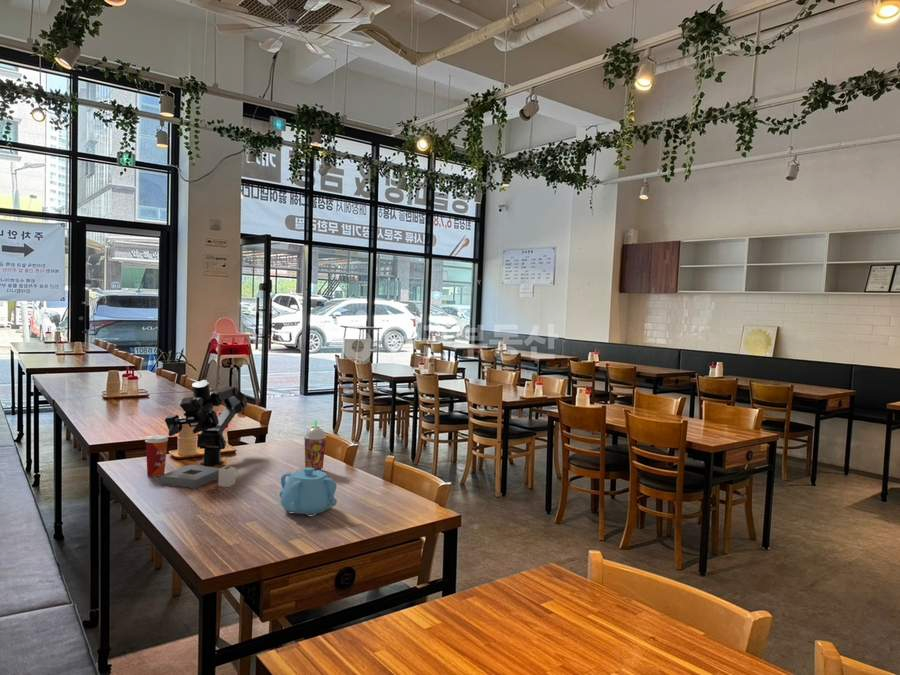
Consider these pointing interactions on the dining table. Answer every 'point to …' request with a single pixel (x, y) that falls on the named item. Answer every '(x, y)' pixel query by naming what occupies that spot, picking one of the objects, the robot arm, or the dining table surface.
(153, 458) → the paper cup
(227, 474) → the block
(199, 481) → the socket plate
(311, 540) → the dining table surface
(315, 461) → the smoothie
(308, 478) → the decorative pot
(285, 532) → the dining table surface
